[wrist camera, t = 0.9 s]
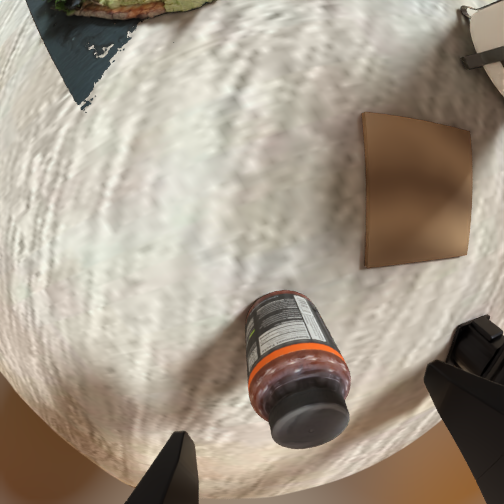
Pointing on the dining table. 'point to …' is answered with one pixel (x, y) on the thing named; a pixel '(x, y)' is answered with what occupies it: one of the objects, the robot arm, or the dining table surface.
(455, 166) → the walnut trivet
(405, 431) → the dining table surface
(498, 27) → the coffee press
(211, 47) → the dining table surface
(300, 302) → the supplement bottle
